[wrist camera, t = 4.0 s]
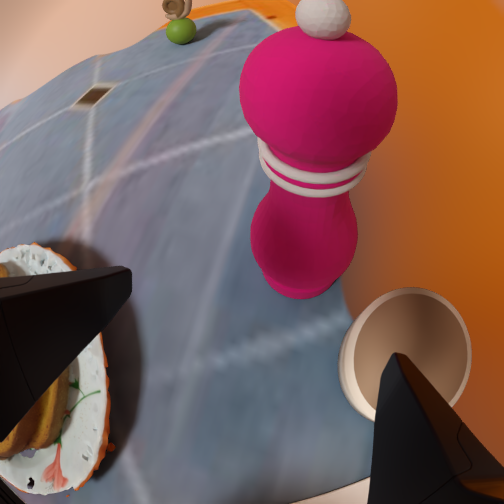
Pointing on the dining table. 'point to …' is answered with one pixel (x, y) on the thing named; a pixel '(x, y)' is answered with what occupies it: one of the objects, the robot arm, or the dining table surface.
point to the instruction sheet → (343, 495)
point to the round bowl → (404, 346)
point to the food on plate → (58, 405)
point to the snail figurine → (179, 21)
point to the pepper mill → (313, 142)
